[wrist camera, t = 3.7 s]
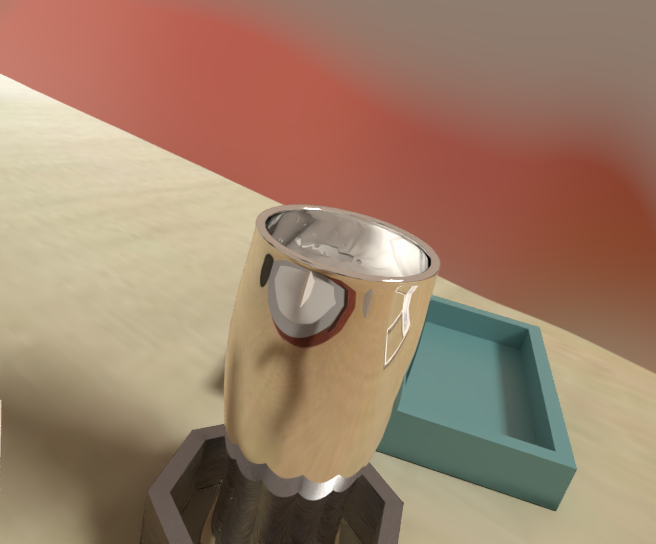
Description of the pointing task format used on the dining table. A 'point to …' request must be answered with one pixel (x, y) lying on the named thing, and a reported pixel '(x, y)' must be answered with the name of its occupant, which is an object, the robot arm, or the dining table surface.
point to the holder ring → (207, 469)
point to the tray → (484, 406)
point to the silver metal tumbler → (314, 368)
